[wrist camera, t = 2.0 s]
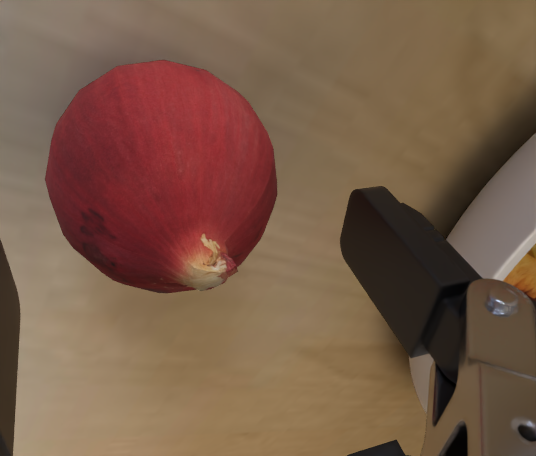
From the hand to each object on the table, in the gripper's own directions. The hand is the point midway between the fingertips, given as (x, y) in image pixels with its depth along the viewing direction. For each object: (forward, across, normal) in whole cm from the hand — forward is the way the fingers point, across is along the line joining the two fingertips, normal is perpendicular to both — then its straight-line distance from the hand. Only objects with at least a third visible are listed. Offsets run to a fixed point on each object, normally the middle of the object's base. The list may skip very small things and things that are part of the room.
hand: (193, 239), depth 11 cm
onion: (+6, 0, 0) cm, 6 cm away
